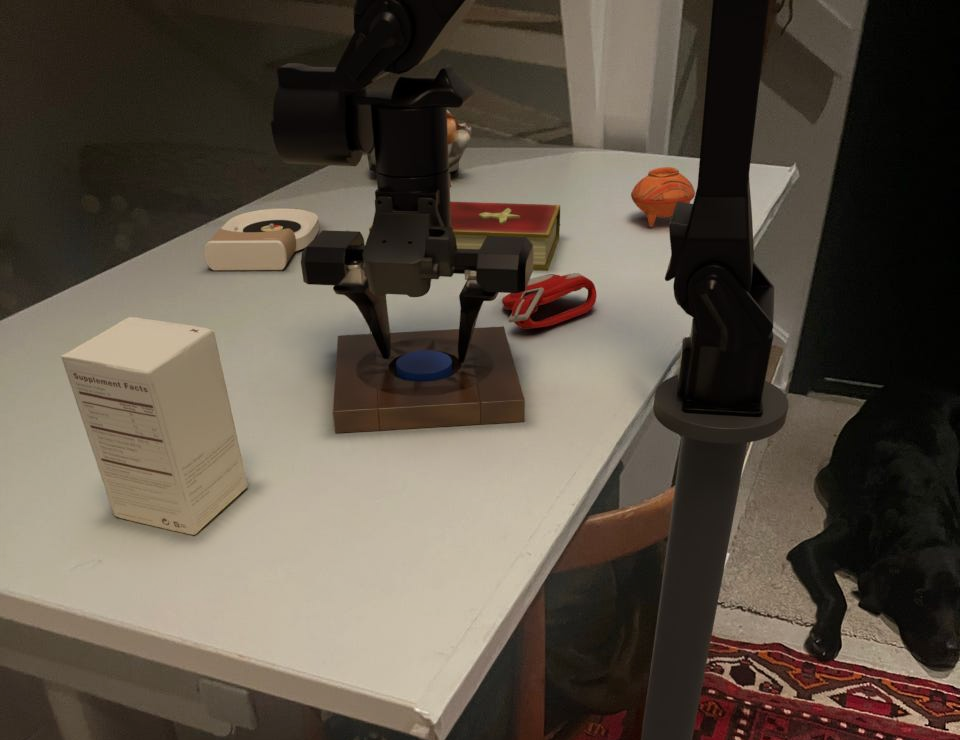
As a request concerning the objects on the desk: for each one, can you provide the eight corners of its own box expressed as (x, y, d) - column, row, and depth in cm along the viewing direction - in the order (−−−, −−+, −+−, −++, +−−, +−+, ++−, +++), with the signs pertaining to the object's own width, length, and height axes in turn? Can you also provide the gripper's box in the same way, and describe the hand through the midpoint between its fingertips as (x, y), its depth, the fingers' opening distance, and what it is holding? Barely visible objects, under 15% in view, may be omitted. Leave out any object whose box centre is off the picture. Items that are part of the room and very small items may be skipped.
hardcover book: (396, 231, 119) (394, 196, 116) (559, 237, 116) (560, 201, 113) (372, 262, 110) (368, 225, 107) (547, 270, 107) (548, 231, 104)
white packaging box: (172, 470, 73) (129, 313, 65) (251, 488, 71) (217, 326, 63) (110, 518, 68) (56, 353, 60) (193, 538, 66) (149, 370, 58)
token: (457, 376, 86) (456, 351, 84) (447, 400, 82) (445, 375, 80) (405, 373, 86) (403, 348, 85) (392, 397, 83) (390, 372, 81)
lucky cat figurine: (467, 164, 144) (486, 80, 131) (451, 217, 139) (468, 135, 126) (374, 133, 142) (383, 45, 130) (353, 185, 137) (362, 100, 125)
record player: (193, 242, 107) (236, 196, 122) (198, 270, 109) (240, 221, 124) (292, 242, 106) (323, 195, 122) (296, 269, 108) (326, 220, 124)
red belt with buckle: (490, 287, 100) (579, 257, 99) (502, 327, 102) (589, 298, 101) (504, 301, 89) (604, 267, 89) (517, 346, 91) (614, 314, 91)
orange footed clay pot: (684, 231, 115) (678, 173, 111) (626, 238, 119) (618, 182, 115) (706, 212, 120) (700, 155, 116) (650, 219, 124) (642, 165, 120)
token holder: (503, 346, 91) (503, 326, 89) (524, 421, 79) (524, 400, 77) (340, 355, 90) (337, 335, 88) (335, 433, 78) (332, 411, 76)
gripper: (263, 194, 68) (295, 393, 78) (516, 201, 65) (515, 406, 75) (310, 156, 76) (333, 340, 86) (535, 161, 73) (532, 350, 83)
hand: (424, 359), depth 82 cm, fingers open, 6 cm apart
